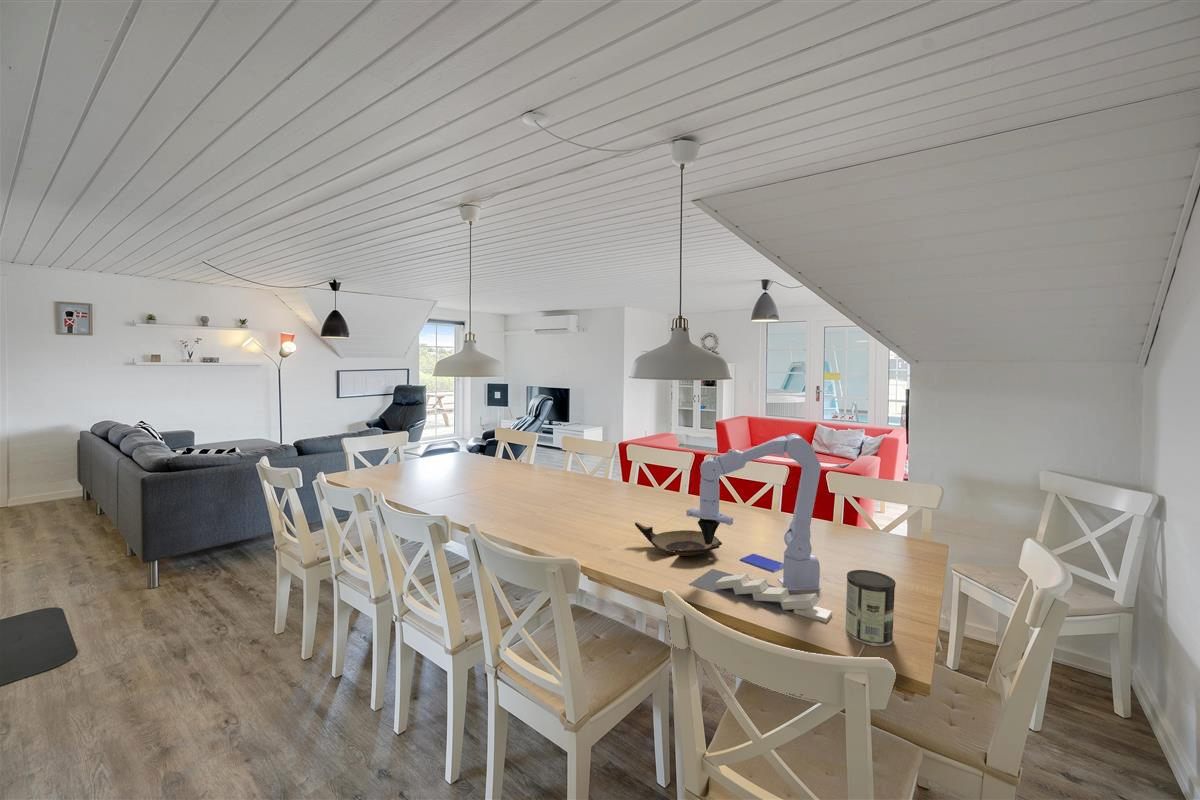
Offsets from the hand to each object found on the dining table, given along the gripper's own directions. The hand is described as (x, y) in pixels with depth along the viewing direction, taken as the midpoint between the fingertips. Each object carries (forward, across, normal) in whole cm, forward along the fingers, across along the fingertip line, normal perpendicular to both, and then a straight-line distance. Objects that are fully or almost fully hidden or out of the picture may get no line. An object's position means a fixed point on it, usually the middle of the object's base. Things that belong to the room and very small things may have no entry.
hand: (708, 543), depth 155 cm
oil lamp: (+11, -18, +14) cm, 26 cm away
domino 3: (+9, +17, -4) cm, 20 cm away
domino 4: (+9, +25, -4) cm, 27 cm away
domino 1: (+9, +6, -4) cm, 12 cm away
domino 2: (+9, +12, -4) cm, 15 cm away
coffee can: (+11, +45, -6) cm, 47 cm away
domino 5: (+10, +28, -4) cm, 30 cm away
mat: (+10, +13, -2) cm, 16 cm away
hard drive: (+11, +9, +20) cm, 25 cm away
